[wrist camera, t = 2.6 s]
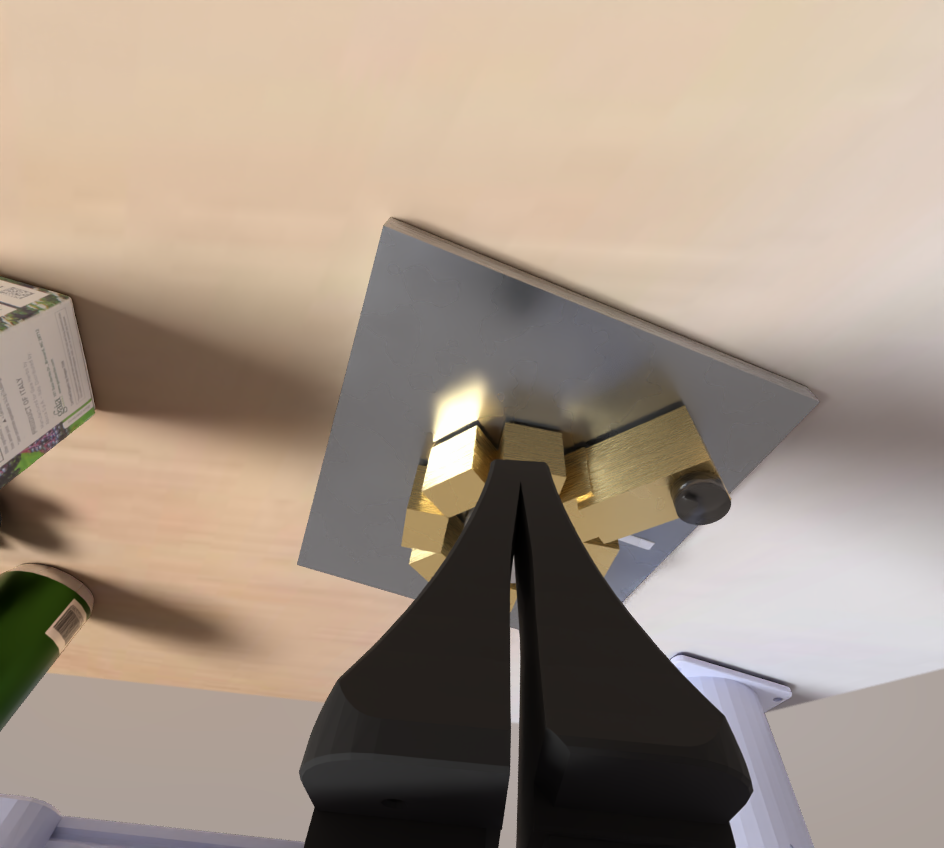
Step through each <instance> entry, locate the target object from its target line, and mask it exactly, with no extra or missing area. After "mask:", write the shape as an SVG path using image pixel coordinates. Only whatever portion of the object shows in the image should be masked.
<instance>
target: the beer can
mask: <svg viewBox="0 0 944 848" xmlns="http://www.w3.org/2000/svg"><path fill="white" fill-rule="evenodd" d="M93 604H94V597H93V595H92V593H91V592H90V590H89V589H88V588H87V587H86V586H85V585H84V584H83V583H82V582H80V581H79V580H77V579H76V578H74V577H73V576H71V575H69V574H67V573H65V572H63V571H61V570H58V569H56V568H52V567H49V566H46V565H40V564H33V563H31V564H21V565H19V566H17V567H15V568H13V569H11V570H9V571H6V572H4V573H2V574H0V731H1V730H2V728H3V727H4V726H5V725H6V723H7V722H8V721H9V720H10V718H11V717H12V716H13V714H14V713H15V712H16V711H17V709H18V708H19V707H20V706H21V704H22V703H23V702H24V700H25V699H26V698H27V697H28V695H29V694H30V693H31V691H32V690H33V689H34V687H35V686H36V685H37V684H38V682H39V681H40V680H41V679H42V677H43V676H44V675H45V673H46V672H47V671H48V670H49V668H50V667H51V666H52V665H53V663H54V662H55V661H56V659H57V658H58V657H59V656H60V654H61V653H62V652H63V650H64V649H65V648H66V647H67V645H68V644H69V643H70V641H71V640H72V639H73V638H74V636H75V635H76V634H77V632H78V631H79V630H80V629H81V627H82V626H83V625H84V623H85V622H86V621H87V620H88V618H89V617H90V616H91V612H92V608H93Z"/></svg>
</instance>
